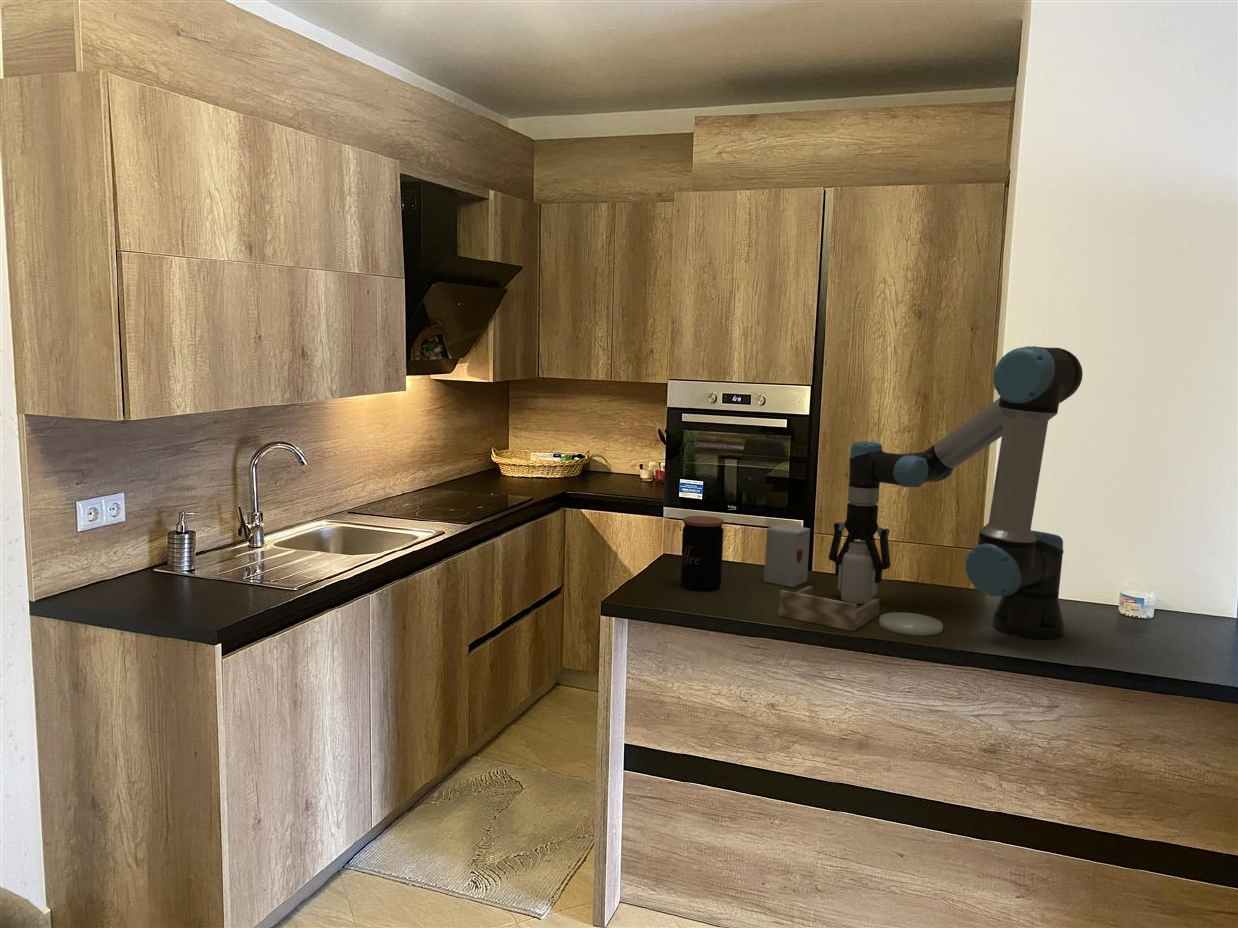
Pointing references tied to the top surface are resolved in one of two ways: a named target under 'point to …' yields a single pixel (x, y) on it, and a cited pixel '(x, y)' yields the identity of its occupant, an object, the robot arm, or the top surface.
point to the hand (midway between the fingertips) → (857, 591)
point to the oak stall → (826, 610)
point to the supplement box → (787, 555)
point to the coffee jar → (702, 553)
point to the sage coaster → (911, 623)
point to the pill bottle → (857, 574)
